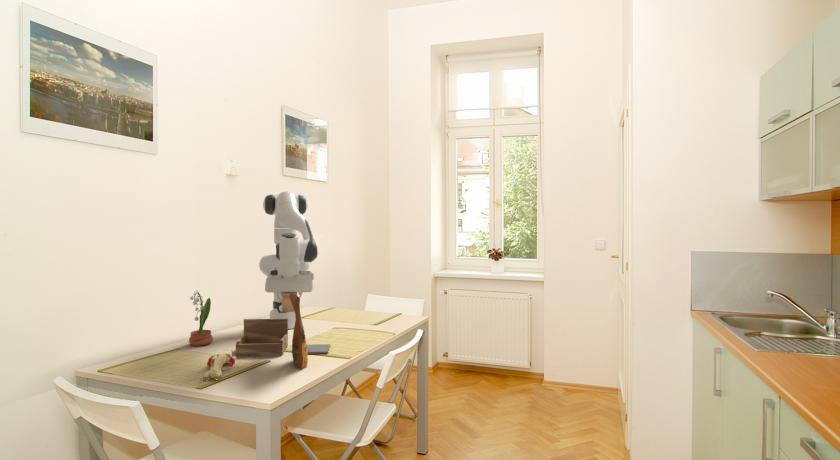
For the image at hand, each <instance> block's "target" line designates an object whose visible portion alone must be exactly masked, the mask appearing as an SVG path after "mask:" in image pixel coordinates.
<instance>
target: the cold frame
mask: <svg viewBox="0 0 840 460" xmlns="http://www.w3.org/2000/svg"><path fill="white" fill-rule="evenodd" d="M235 343H236V344H235V357H238V358H239V357H240V358H241V357H273V356H274V357H278V356H280V357H281V356H283V355H284V353H285V352H286V350H287V349H288V346H289V329H288V318H284V319H270V318H244V319H243V335H242V336H241V337H239V339H238V340H236V342H235ZM286 348H287V349H286Z"/></svg>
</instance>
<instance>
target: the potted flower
mask: <svg viewBox="0 0 840 460" xmlns="http://www.w3.org/2000/svg"><path fill="white" fill-rule="evenodd" d="M189 299H190V300H193V301H192V305H194V306H195V305H196V306H199V305H200V309H199V307H195V310H194V311H197V313H196V317H194V321H196V322H197V321H199V327H198V329H197V330H193V331H191V332H190V337H189V339H188V343H189V345H191V346H194V347H200V346H201V347H202V346H207V345H210V344H211V343H213V340H214V339H213V338H214V337H213V336H212V330H210V329H204V326H205V324H206V321H207V319H208V317H209V315H210V311H211V307H212V306H211V305H212V304H211V303H212V301H211V298H210V297H208V298H207V299H206V301H205V304H204V300H203V296H202V295H201V293H200V292H199V291H198V290H196V291H194V293H193V295H192V296H190V297H189ZM198 302H199V303H198ZM199 312H200V314H199V317H198V313H199Z"/></svg>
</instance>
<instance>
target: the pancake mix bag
mask: <svg viewBox="0 0 840 460" xmlns="http://www.w3.org/2000/svg"><path fill="white" fill-rule="evenodd" d="M289 296H290V300H291V303H292V306H293V309H294V312H295V318H296V321H295V326H294V328H293V332H292V333H293V334H292V341H291V342H292V343H291V356H292V360H293V364H294V368H295V369H297V370H298V369H299V370H303V369H305V368H307V367H308V363H309V362H308V361H309V358H308V357H309V356H308V355H309V354H308V353H307V345H308V344H307V339H306V335H305V328H304V325H303V321H302V313H301V304H300V303H301V298H299V296H298V294H297V295H295V294H293V293H292V292H291V293H290V295H289Z"/></svg>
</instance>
